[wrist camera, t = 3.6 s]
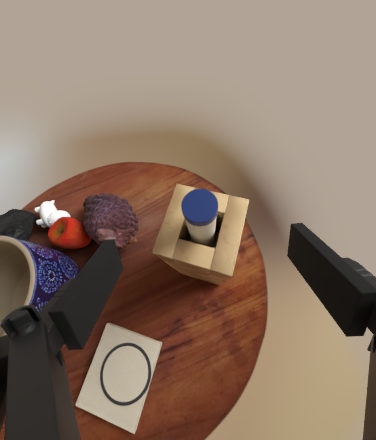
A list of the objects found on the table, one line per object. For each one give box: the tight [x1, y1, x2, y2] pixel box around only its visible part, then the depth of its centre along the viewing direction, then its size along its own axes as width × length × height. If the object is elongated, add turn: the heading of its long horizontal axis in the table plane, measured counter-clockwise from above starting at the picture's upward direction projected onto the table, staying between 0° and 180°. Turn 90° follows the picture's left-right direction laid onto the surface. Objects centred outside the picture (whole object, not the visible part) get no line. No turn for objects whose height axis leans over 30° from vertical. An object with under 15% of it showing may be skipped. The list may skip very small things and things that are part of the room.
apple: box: [48, 217, 91, 249], centre depth 41 cm, size 6×6×8 cm
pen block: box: [152, 184, 249, 285], centre depth 31 cm, size 8×8×22 cm
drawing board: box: [75, 322, 162, 434], centre depth 35 cm, size 11×13×1 cm
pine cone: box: [83, 193, 138, 249], centre depth 41 cm, size 18×10×10 cm
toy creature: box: [35, 200, 71, 228], centre depth 45 cm, size 5×8×6 cm
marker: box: [181, 189, 218, 247], centre depth 22 cm, size 3×3×13 cm
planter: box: [0, 235, 80, 337], centre depth 34 cm, size 16×17×15 cm
